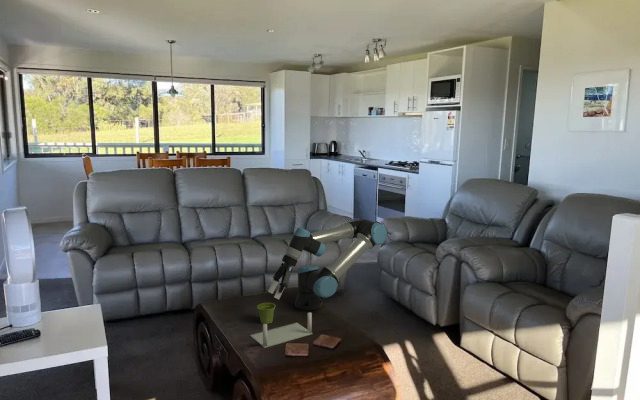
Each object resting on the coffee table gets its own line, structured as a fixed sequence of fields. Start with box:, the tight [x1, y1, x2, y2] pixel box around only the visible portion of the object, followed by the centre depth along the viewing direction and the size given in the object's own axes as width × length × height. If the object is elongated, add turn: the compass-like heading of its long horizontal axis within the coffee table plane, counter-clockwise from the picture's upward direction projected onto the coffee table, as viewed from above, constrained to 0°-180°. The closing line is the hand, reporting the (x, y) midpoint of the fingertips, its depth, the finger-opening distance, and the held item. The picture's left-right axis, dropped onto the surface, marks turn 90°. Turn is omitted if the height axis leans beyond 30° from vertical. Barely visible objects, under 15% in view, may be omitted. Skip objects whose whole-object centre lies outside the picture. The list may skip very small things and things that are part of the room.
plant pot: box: [256, 302, 277, 325], centre depth 233 cm, size 9×9×9 cm
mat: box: [249, 311, 313, 349], centre depth 218 cm, size 26×15×10 cm, turn 124°
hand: (273, 295), depth 228 cm, fingers open, 13 cm apart
